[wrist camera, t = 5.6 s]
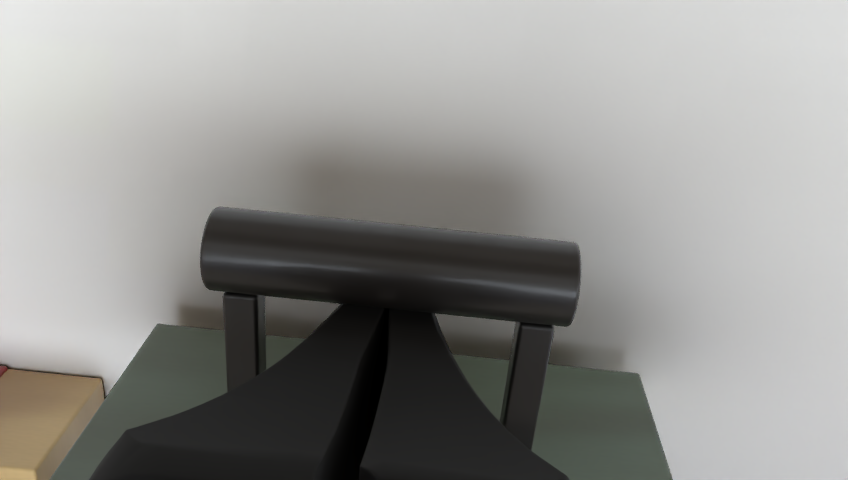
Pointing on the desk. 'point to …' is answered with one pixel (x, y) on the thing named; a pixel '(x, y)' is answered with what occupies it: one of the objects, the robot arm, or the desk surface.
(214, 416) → the robot arm
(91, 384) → the box with red band
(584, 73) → the desk surface
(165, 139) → the desk surface
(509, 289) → the drawer
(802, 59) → the desk surface
